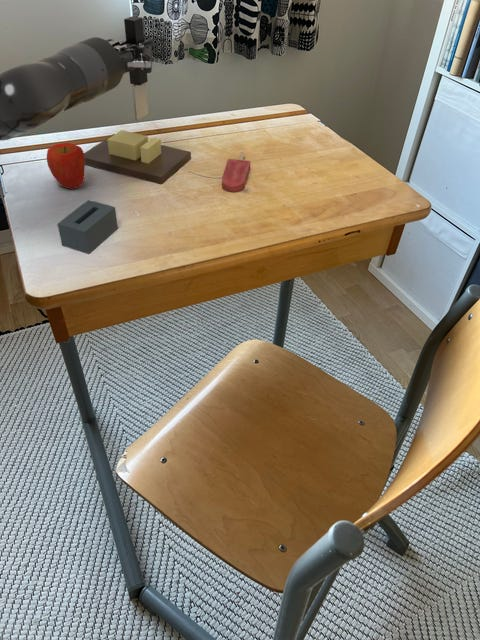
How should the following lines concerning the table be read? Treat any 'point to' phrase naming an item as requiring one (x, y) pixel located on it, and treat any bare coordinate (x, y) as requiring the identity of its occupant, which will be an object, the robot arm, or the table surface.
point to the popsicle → (235, 174)
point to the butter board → (138, 163)
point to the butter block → (126, 144)
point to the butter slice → (150, 150)
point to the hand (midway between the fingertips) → (144, 44)
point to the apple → (67, 164)
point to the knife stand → (88, 226)
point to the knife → (137, 76)
